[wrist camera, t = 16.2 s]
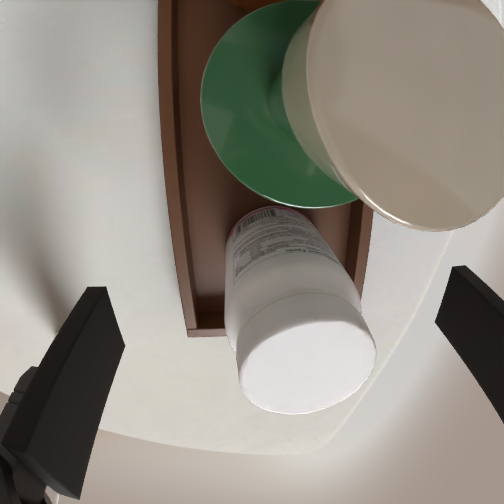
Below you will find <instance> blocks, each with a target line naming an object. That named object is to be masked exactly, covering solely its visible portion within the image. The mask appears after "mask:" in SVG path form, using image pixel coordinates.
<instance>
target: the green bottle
mask: <svg viewBox="0 0 504 504" xmlns="http://www.w3.org/2000/svg"><path fill="white" fill-rule="evenodd" d="M200 104H201V113H202V119H203V123H204V127H205V131H206V133H207V136H208V138H209V141H210V143H211V145H212V147H213V149H214V151H215V152H216V154H217V156H218V158H219V159H220V160H221V162H222V163H223V164H224V165H225V167H226V168H227V169H228V170H229V171H230V172H231V173H232V174H233V175H234V176H235V177H236V178H237V179H238V180H239V181H240V182H241V183H242V184H244V185H245V186H246V187H248V188H249V189H250V190H252V191H254V192H255V193H257V194H259V195H260V196H262V197H264V198H267V199H269V200H271V201H274V202H276V203H280V204H283V205H286V206H290V207H297V208H303V209H322V208H331V207H336V206H340V205H344V204H347V203H350V202H352V201H355V200H357V199H360V200H361V201H362V202H364V203H365V204H366V205H368V206H369V207H370V208H372V209H373V210H374V211H376V212H377V213H378V214H380V215H381V216H383V217H385V218H387V219H388V220H390V221H392V222H394V223H396V224H399V225H401V226H404V227H406V228H410V229H415V230H419V231H431V232H440V231H449V230H454V229H457V228H461V227H464V226H466V225H468V224H471V223H473V222H475V221H476V220H478V219H480V218H481V217H483V216H484V215H485V214H487V213H488V212H489V211H490V210H491V209H493V208H494V207H495V206H496V204H497V203H498V202H499V201H500V200H501V199H502V198H503V197H504V29H503V28H502V26H501V24H500V23H499V21H498V20H497V19H496V17H495V16H494V15H493V14H492V12H491V11H490V10H489V9H488V8H487V7H486V6H485V5H484V4H483V3H482V1H481V0H322V1H318V0H286V1H281V2H276V3H272V4H269V5H266V6H264V7H261V8H258V9H256V10H254V11H253V12H251V13H249V14H247V15H245V16H244V17H242V18H241V19H240V20H238V21H237V22H236V23H235V24H233V25H232V26H231V27H230V28H229V29H228V30H227V31H226V32H225V33H224V34H223V36H222V37H221V38H220V40H219V41H218V43H217V44H216V45H215V47H214V49H213V51H212V53H211V55H210V57H209V58H208V61H207V64H206V67H205V70H204V73H203V78H202V83H201V96H200Z"/></svg>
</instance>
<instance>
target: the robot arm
mask: <svg viewBox="0 0 504 504" xmlns="http://www.w3.org/2000/svg"><path fill="white" fill-rule="evenodd" d="M435 323H436V324H437V326H438V327H439V328H440V330H441V331H442V332H443V334H444V335H445V336H446V338H447V339H448V340H449V342H450V343H451V345H452V346H453V347H454V349H455V350H456V351H457V353H458V354H459V356H460V357H461V358H462V360H463V361H464V363H465V364H466V365H467V367H468V369H469V370H470V371H471V373H472V374H473V376H474V377H475V379H476V380H477V382H478V383H479V385H480V386H481V388H482V389H483V391H484V392H485V394H486V396H487V397H488V399H489V400H490V402H491V403H492V405H493V407H494V408H495V410H496V411H497V413H498V414H499V416H500V418H501V420H502V421H503V423H504V301H503V300H502V299H501V298H500V297H499V296H498V295H497V294H496V293H495V292H494V291H493V290H492V289H491V288H490V287H489V286H488V285H487V284H486V283H484V282H483V281H482V280H481V279H480V278H479V277H478V276H477V275H476V274H474V273H473V272H472V271H471V270H470V269H469V268H468V267H467V266H465V265H464V266H454V267H452V270H451V273H450V277H449V281H448V283H447V287H446V290H445V293H444V296H443V299H442V303H441V306H440V308H439V311H438V314H437V317H436V320H435ZM124 348H125V344H124V341H123V338H122V335H121V332H120V330H119V327H118V324H117V321H116V317H115V314H114V311H113V308H112V305H111V301H110V298H109V295H108V291H107V288H106V287H87V288H86V290H85V291H84V293H83V294H82V296H81V297H80V299H79V300H78V302H77V304H76V305H75V307H74V308H73V310H72V311H71V313H70V314H69V316H68V318H67V319H66V321H65V322H64V324H63V326H62V327H61V329H60V330H59V332H58V334H57V335H56V337H55V339H54V340H53V342H52V344H51V345H50V347H49V349H48V351H47V352H46V354H45V356H44V358H43V359H42V361H41V363H40V365H39V367H34V366H31V367H30V368H29V369H28V370H27V371H26V372H25V373H24V374H23V375H22V376H21V377H20V379H19V381H18V383H17V384H16V386H15V388H14V392H12V394H11V396H10V397H9V400H8V401H9V402H8V403H6V405H5V407H4V409H3V411H2V413H1V415H0V504H52V502H51V500H50V498H49V496H48V495H47V493H46V492H45V490H46V487H47V486H49V487H50V488H51V489H52V490H54V491H55V492H56V493H58V494H62V495H65V496H68V497H71V498H75V499H78V500H79V499H80V495H81V491H82V486H83V482H84V478H85V474H86V470H87V466H88V462H89V459H90V455H91V451H92V448H93V444H94V440H95V436H96V433H97V430H98V427H99V423H100V420H101V417H102V413H103V410H104V407H105V404H106V401H107V397H108V394H109V391H110V388H111V385H112V382H113V379H114V376H115V373H116V370H117V368H118V365H119V362H120V359H121V356H122V353H123V351H124Z"/></svg>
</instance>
